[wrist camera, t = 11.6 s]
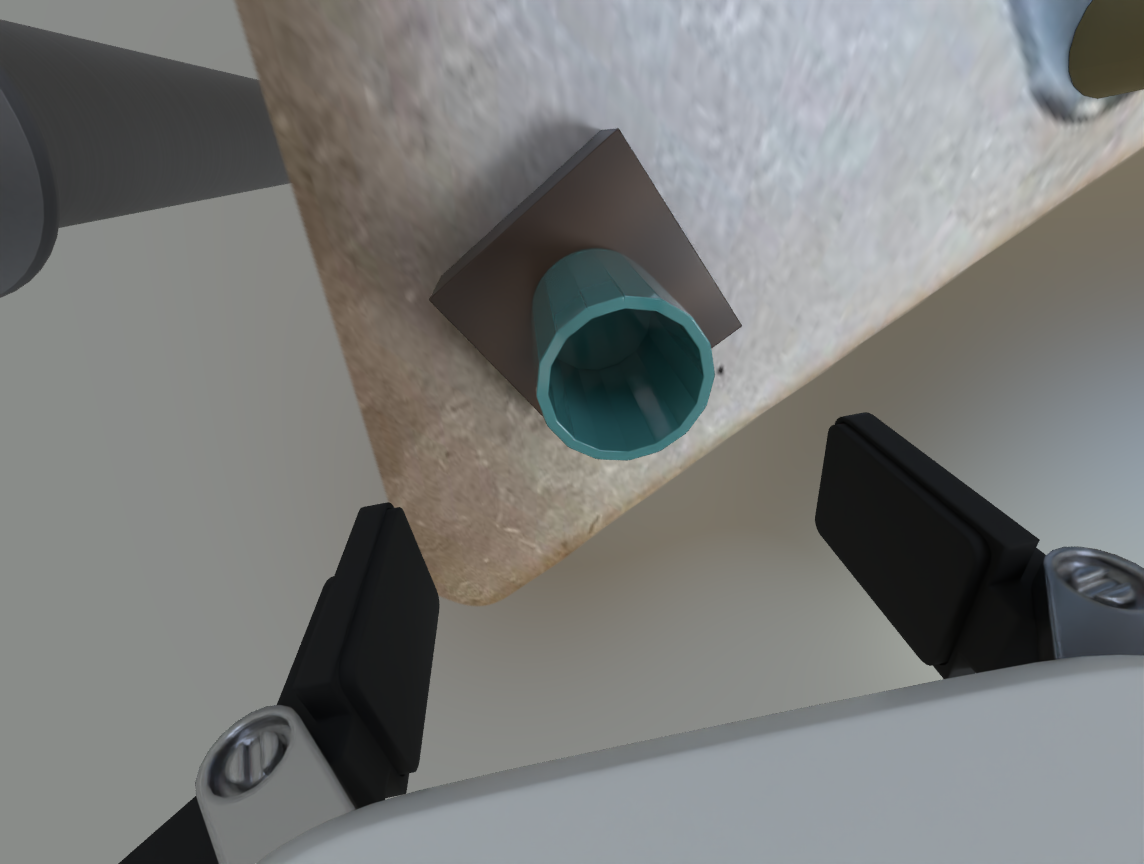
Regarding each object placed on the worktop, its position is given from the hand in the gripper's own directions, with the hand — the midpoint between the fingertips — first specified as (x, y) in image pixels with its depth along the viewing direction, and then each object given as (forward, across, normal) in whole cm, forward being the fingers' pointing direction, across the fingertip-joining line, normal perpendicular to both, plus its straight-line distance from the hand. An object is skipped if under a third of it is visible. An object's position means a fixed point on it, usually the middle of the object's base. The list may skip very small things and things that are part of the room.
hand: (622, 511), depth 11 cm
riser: (+22, -2, +1) cm, 22 cm away
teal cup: (+17, -2, +1) cm, 17 cm away
